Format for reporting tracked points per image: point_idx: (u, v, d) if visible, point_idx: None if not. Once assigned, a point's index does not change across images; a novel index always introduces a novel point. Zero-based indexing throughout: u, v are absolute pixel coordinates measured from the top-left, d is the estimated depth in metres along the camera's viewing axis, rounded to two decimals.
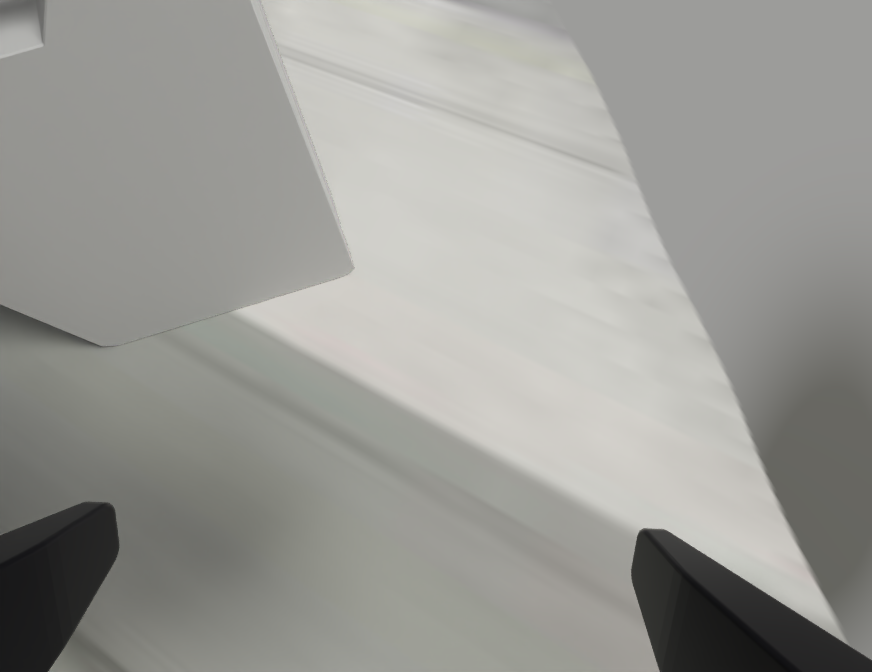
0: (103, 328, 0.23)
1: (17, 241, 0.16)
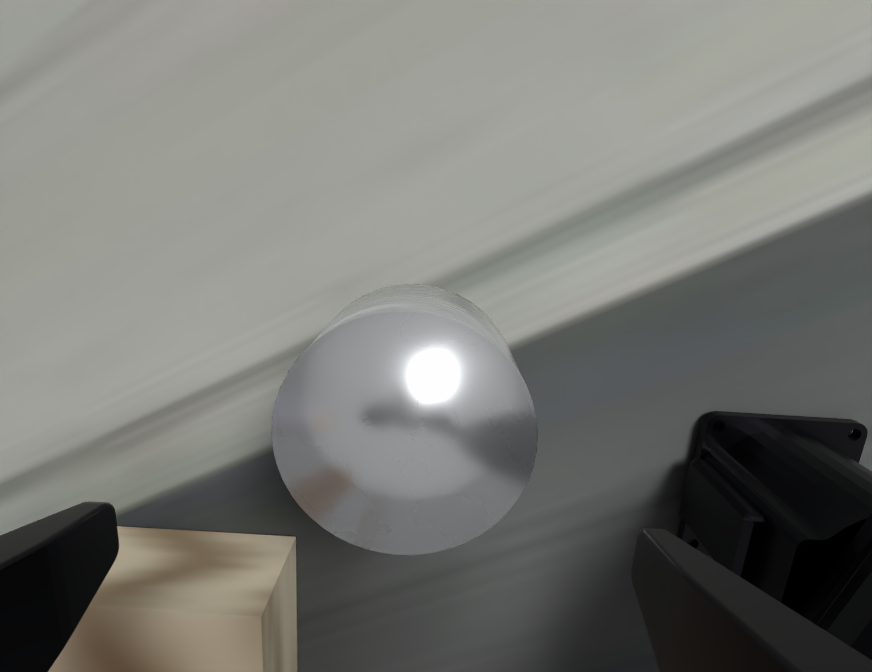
0: None
1: None
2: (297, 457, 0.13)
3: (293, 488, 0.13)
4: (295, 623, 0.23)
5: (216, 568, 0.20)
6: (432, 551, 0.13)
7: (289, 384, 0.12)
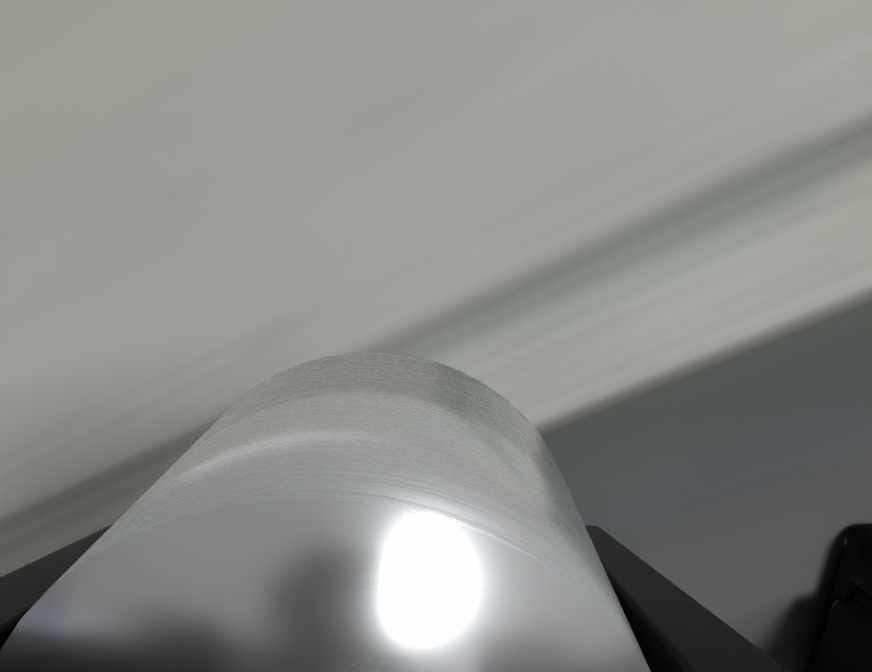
0: None
1: None
2: None
3: None
4: None
5: None
6: None
7: None
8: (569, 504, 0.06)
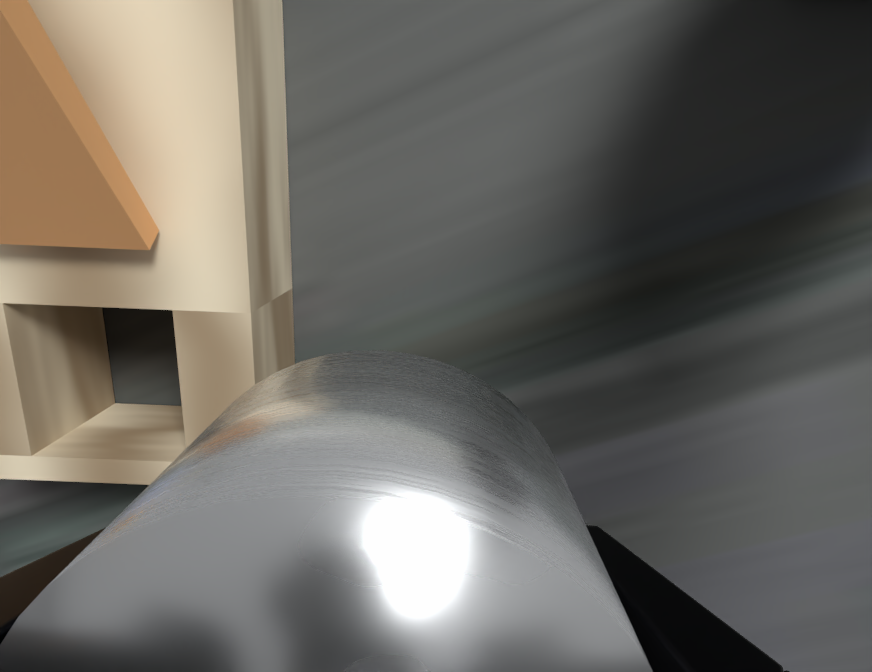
0: None
1: None
2: None
3: None
4: (285, 141, 0.18)
5: None
6: None
7: None
8: (569, 502, 0.06)
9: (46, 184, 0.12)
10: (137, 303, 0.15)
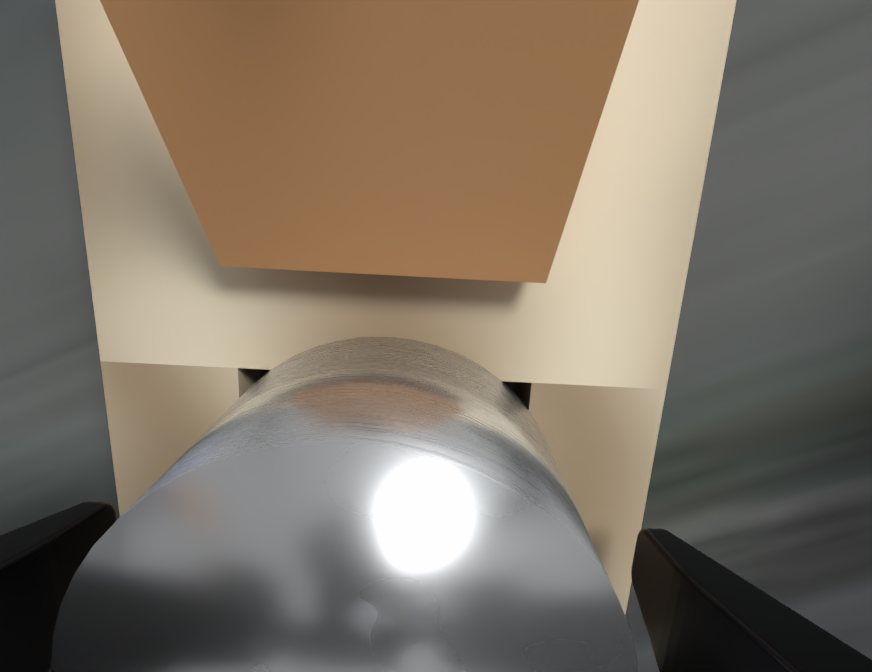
0: None
1: None
2: None
3: None
4: None
5: None
6: None
7: (80, 599, 0.05)
8: (552, 465, 0.07)
9: (453, 153, 0.06)
10: None
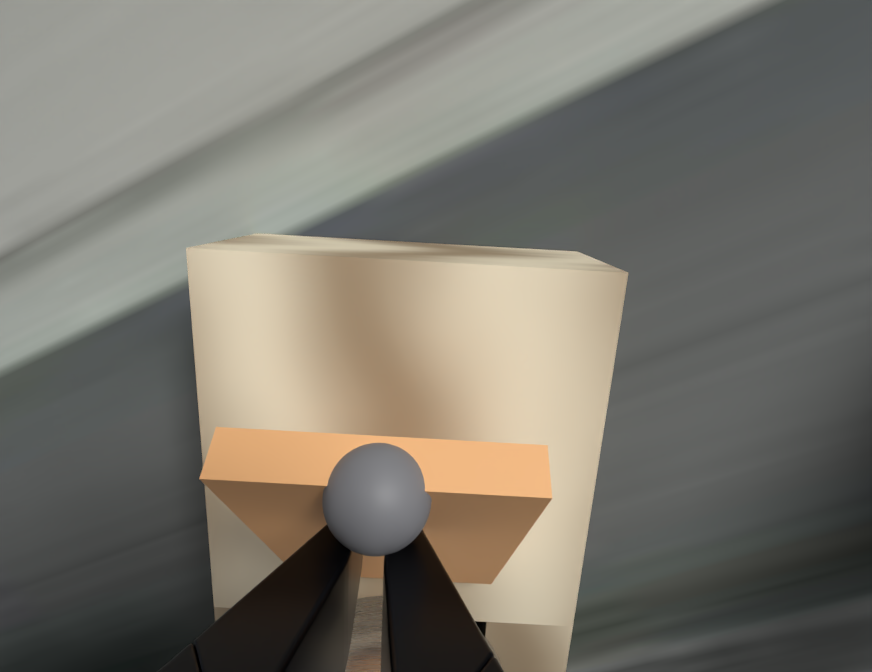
0: None
1: None
2: None
3: None
4: None
5: (502, 255, 0.14)
6: None
7: None
8: None
9: None
10: None
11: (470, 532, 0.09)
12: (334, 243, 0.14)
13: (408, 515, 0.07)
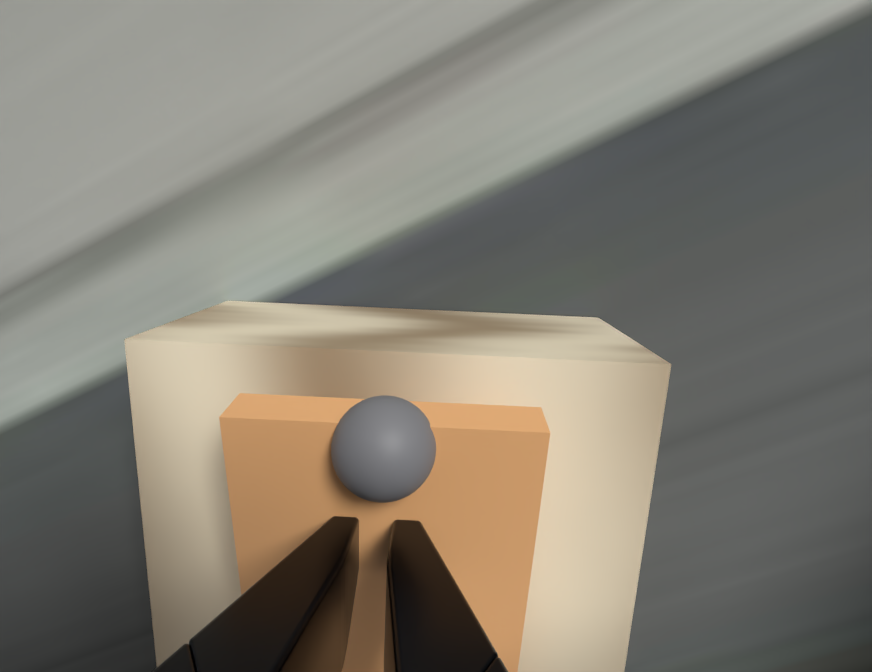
0: None
1: None
2: None
3: None
4: None
5: (512, 331, 0.11)
6: None
7: None
8: None
9: None
10: None
11: (476, 540, 0.08)
12: (314, 317, 0.12)
13: (415, 434, 0.07)
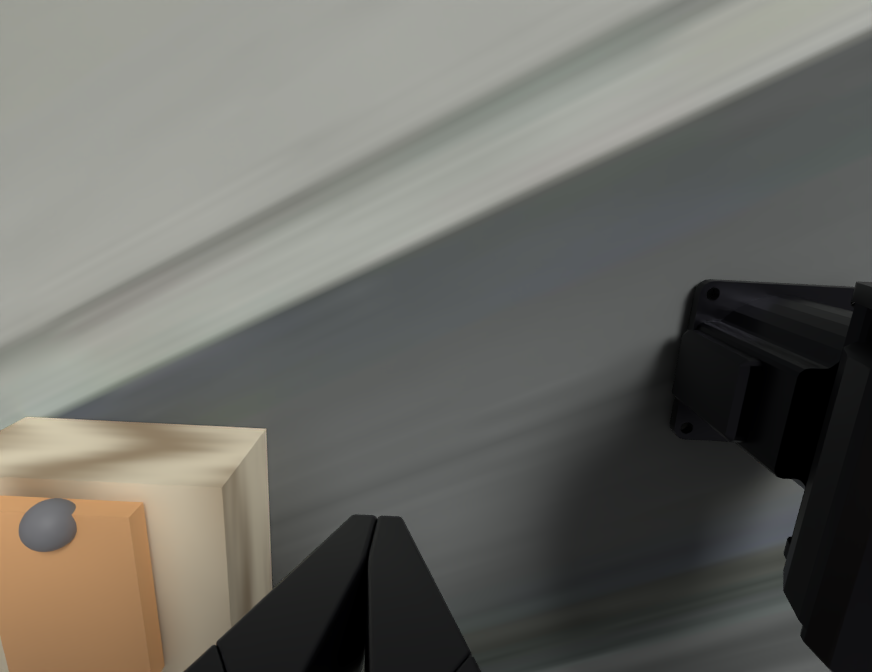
0: None
1: None
2: None
3: None
4: (268, 525, 0.22)
5: (178, 451, 0.19)
6: None
7: None
8: None
9: (99, 635, 0.17)
10: None
11: (106, 570, 0.17)
12: (64, 438, 0.20)
13: (55, 519, 0.16)
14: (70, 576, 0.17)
